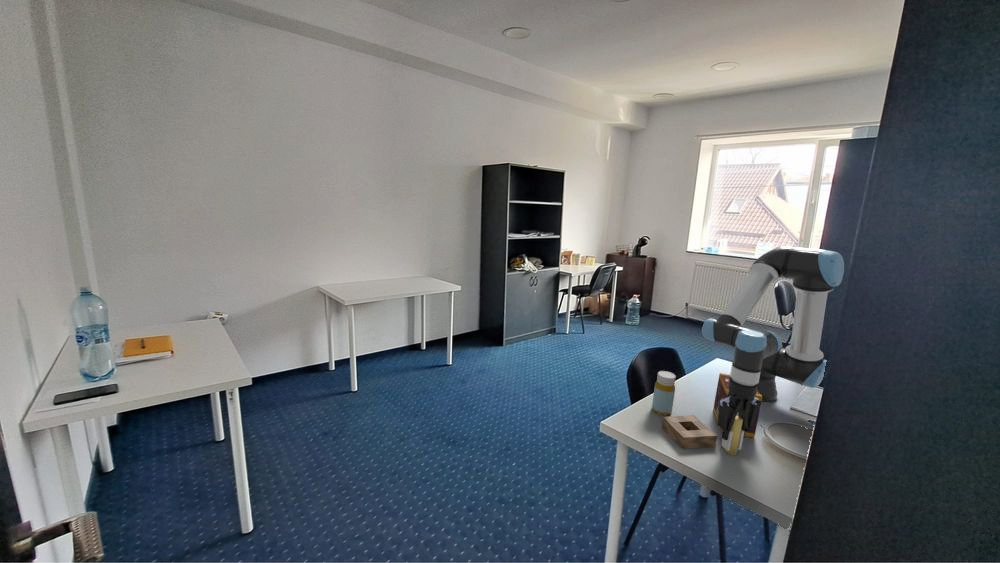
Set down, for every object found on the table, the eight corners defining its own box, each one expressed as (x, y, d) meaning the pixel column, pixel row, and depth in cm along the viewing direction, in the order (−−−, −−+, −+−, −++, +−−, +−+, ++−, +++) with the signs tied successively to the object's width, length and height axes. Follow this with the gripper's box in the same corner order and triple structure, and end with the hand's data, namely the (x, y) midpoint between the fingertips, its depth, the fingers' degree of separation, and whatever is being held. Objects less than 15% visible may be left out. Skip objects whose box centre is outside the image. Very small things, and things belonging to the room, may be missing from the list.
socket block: (692, 425, 138) (694, 415, 137) (715, 446, 126) (717, 435, 126) (661, 427, 136) (662, 416, 135) (682, 448, 125) (683, 437, 124)
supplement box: (743, 415, 146) (750, 377, 143) (754, 438, 132) (763, 396, 128) (712, 409, 149) (719, 372, 146) (720, 431, 135) (728, 390, 132)
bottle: (673, 417, 143) (678, 379, 140) (653, 414, 144) (658, 377, 141) (669, 407, 149) (674, 371, 146) (650, 404, 151) (655, 369, 148)
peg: (731, 447, 126) (737, 414, 123) (738, 454, 123) (745, 420, 120) (721, 448, 125) (727, 415, 123) (729, 455, 122) (735, 421, 120)
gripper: (757, 373, 123) (744, 438, 129) (711, 375, 121) (700, 441, 126) (777, 385, 116) (763, 453, 121) (728, 387, 114) (716, 456, 119)
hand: (731, 447), depth 124 cm, fingers closed on peg, 3 cm apart
